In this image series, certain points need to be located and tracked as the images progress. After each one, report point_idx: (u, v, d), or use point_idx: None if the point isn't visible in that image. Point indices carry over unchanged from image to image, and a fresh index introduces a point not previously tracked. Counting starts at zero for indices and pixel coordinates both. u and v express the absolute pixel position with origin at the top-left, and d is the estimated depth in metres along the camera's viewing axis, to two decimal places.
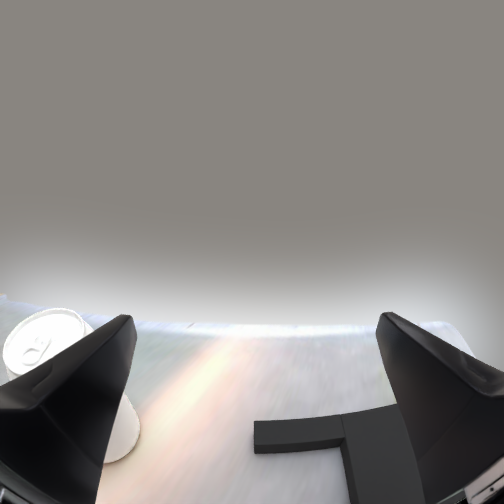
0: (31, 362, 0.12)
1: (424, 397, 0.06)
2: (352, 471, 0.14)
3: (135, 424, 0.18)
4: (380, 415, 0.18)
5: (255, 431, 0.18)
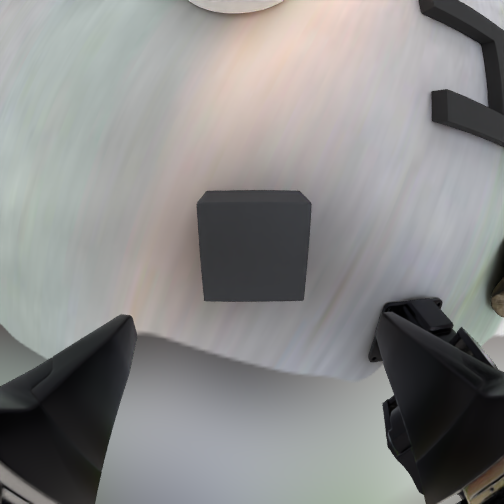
0: None
1: (424, 397, 0.06)
2: (500, 73, 0.11)
3: None
4: None
5: None
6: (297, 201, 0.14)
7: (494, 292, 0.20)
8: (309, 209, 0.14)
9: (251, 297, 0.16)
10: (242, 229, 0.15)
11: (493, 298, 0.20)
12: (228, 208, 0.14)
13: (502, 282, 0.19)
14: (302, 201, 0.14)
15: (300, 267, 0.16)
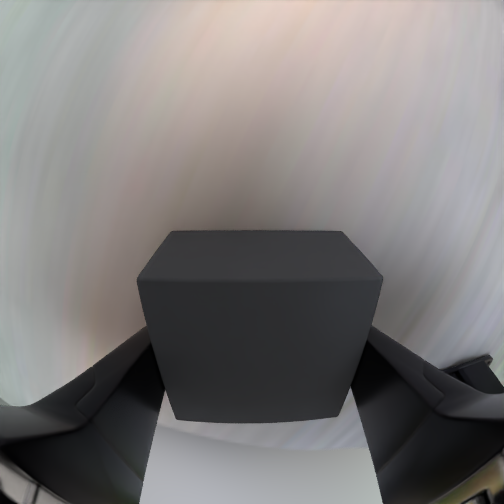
0: None
1: (382, 408, 0.06)
2: None
3: None
4: None
5: None
6: (355, 273, 0.06)
7: None
8: (378, 290, 0.06)
9: (253, 419, 0.08)
10: (236, 332, 0.07)
11: None
12: (204, 292, 0.06)
13: None
14: (367, 275, 0.06)
15: (342, 381, 0.08)
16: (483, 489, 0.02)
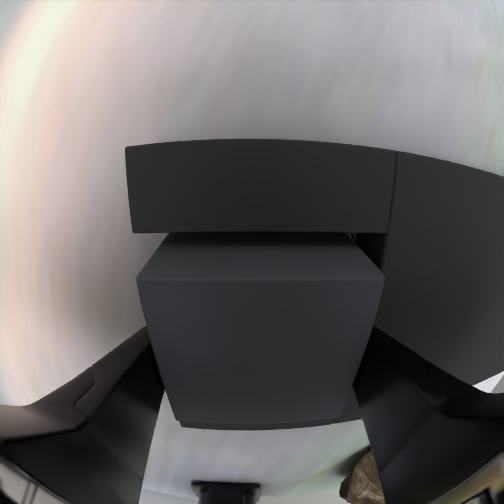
0: None
1: (384, 408, 0.06)
2: None
3: None
4: (474, 195, 0.07)
5: (130, 187, 0.07)
6: (357, 273, 0.06)
7: (342, 483, 0.17)
8: (380, 290, 0.06)
9: (254, 420, 0.08)
10: (237, 333, 0.07)
11: None
12: (205, 292, 0.06)
13: (349, 482, 0.16)
14: (369, 274, 0.06)
15: (344, 381, 0.08)
16: (485, 487, 0.02)
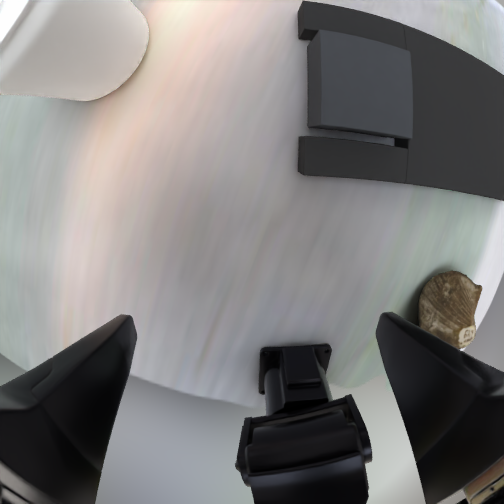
0: None
1: (424, 397, 0.06)
2: None
3: (143, 24, 0.12)
4: (442, 49, 0.12)
5: (305, 13, 0.12)
6: None
7: None
8: (409, 55, 0.11)
9: (368, 125, 0.13)
10: (360, 57, 0.12)
11: None
12: (347, 38, 0.11)
13: None
14: (403, 49, 0.11)
15: (408, 102, 0.13)
16: None
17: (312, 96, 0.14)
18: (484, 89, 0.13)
